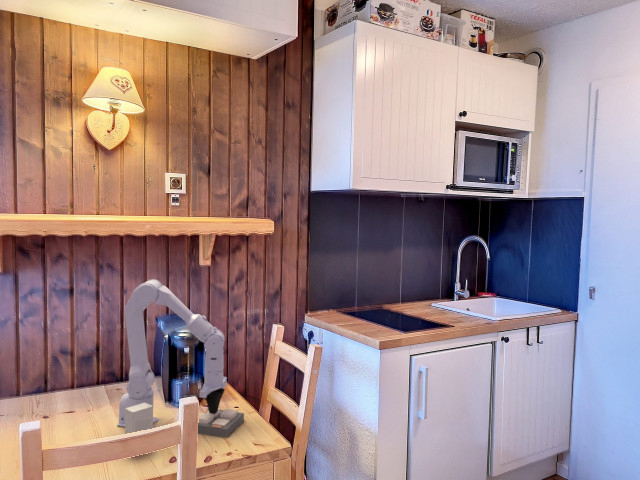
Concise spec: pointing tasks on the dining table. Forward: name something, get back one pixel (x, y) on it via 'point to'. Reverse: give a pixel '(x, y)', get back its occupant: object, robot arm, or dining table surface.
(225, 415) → the key
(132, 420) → the skincare box
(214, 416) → the key
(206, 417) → the key
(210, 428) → the console
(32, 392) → the dining table surface
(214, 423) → the key
